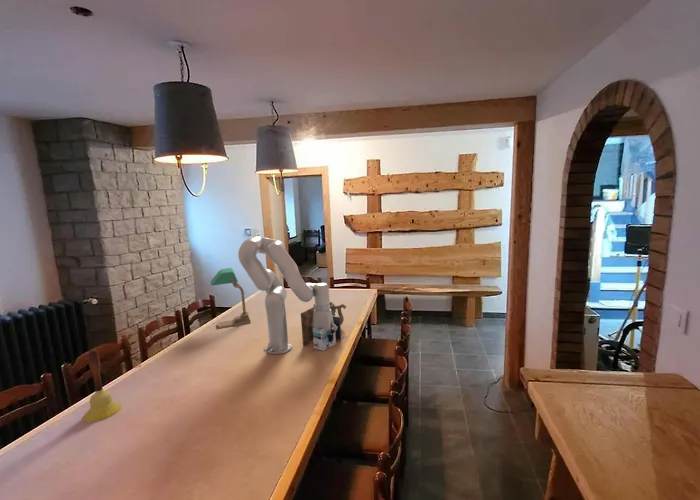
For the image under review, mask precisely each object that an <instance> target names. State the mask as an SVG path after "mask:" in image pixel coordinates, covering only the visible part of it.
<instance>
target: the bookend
mask: <svg viewBox="0 0 700 500" xmlns="http://www.w3.org/2000/svg"><path fill="white" fill-rule="evenodd" d="M333 323H334V324H335V325H336V326H337V327H338V328H337V330H336V331H335V337H336V340H337V341H342V328H341V326H342V325H341V324H340V317H339V315H338V316H337V315H336V316H333Z"/></svg>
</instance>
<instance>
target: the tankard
mask: <svg viewBox="0 0 700 500" xmlns="http://www.w3.org/2000/svg"><path fill="white" fill-rule="evenodd" d="M346 308H347V305H345V304H344V303H341V304H339V305H335V304H334V302H333V301H330V309H331V311H332V316H337V315H336V312H337V314H338V317H340V324H341V326H342V325H343V323H344V321H345V320H344V315H343V311H342V309H344V310H345V309H346Z"/></svg>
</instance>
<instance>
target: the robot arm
mask: <svg viewBox="0 0 700 500" xmlns="http://www.w3.org/2000/svg"><path fill="white" fill-rule="evenodd" d="M286 248H287V247H286V245H285V243H284V242H283V241H281V240H278V239H273V238H268V237H263V236H259V235H258V236H257V235H255V236H251V237H249V238H247V239H245V240H244V241H243V242H242V243H241V245H240V247H239V248H238V252H237V253H238V255H237V256H238V261H239V264H240V265H241V267H242V268H243V269H244V271H245V272H246V273H247V275H248V277H249V279H250V280H251V281H252V283H253V284H254V287H256V289H257V290H259V291H261V292H265V294H266V295H265V299H264V307H265V312H266V318H267V331H268V342H269V343H268V344H267V345H268V346H267V347H264V348H263V352H264V353H269V354H270V355H271V354H272V355H280V354H281V355H282V354H286V353H288V352H290V351H291V350H292V344H291V343H290V342H289V336H288V321H287V312H286V305H285V303H286V299H287V294H288V293H287V290H286V288H285V287H284V285H283V283H282V282H281V281H280V279H279V277H278V276H277V274H276V273H275V272H274V271H273V270H271V269H269V268H265V266H264V265H263V263H262V262H261V260H259V259H258V256H257V255H258V254H263V255H267V256H268V258H269V259H270V260H271V261H272V263H273V264H274V265H275V266H276V268H277V269H278V271H280V273H281V274H282V276H283V278H284V281H286V283H287V285H288V286H289V288H290V289H291V291H292V293H294V295H295V296H296V297H297V299H298V300H299V301H301V302H303V303H308V302H310V301H312V299H313V298H314V304H313V306H312V307H315V309H314V313H313V322H312V323H311V324H310V325H311V326H312V328H315V327H316V328H322V329H325V330H327V331H328V332H329V342H331V341H333V333H334V332H335V331H336V330H337V328H338V327H337V326H336V325H335V324H334V323H333V316H332V311H331V309H330V302H331V301H330V289H329V288H330V287H329V284H328V283H326V282H317V283H312V282H305V280H304V279H303V277H302V275H301V273H300V271H299V267H298V265H297V263H296V262H295V260H294V259H293V258H292V257H291V255H290V254H289V252H287V250H286ZM332 328H334V329H332ZM330 330H331V331H330Z"/></svg>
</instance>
